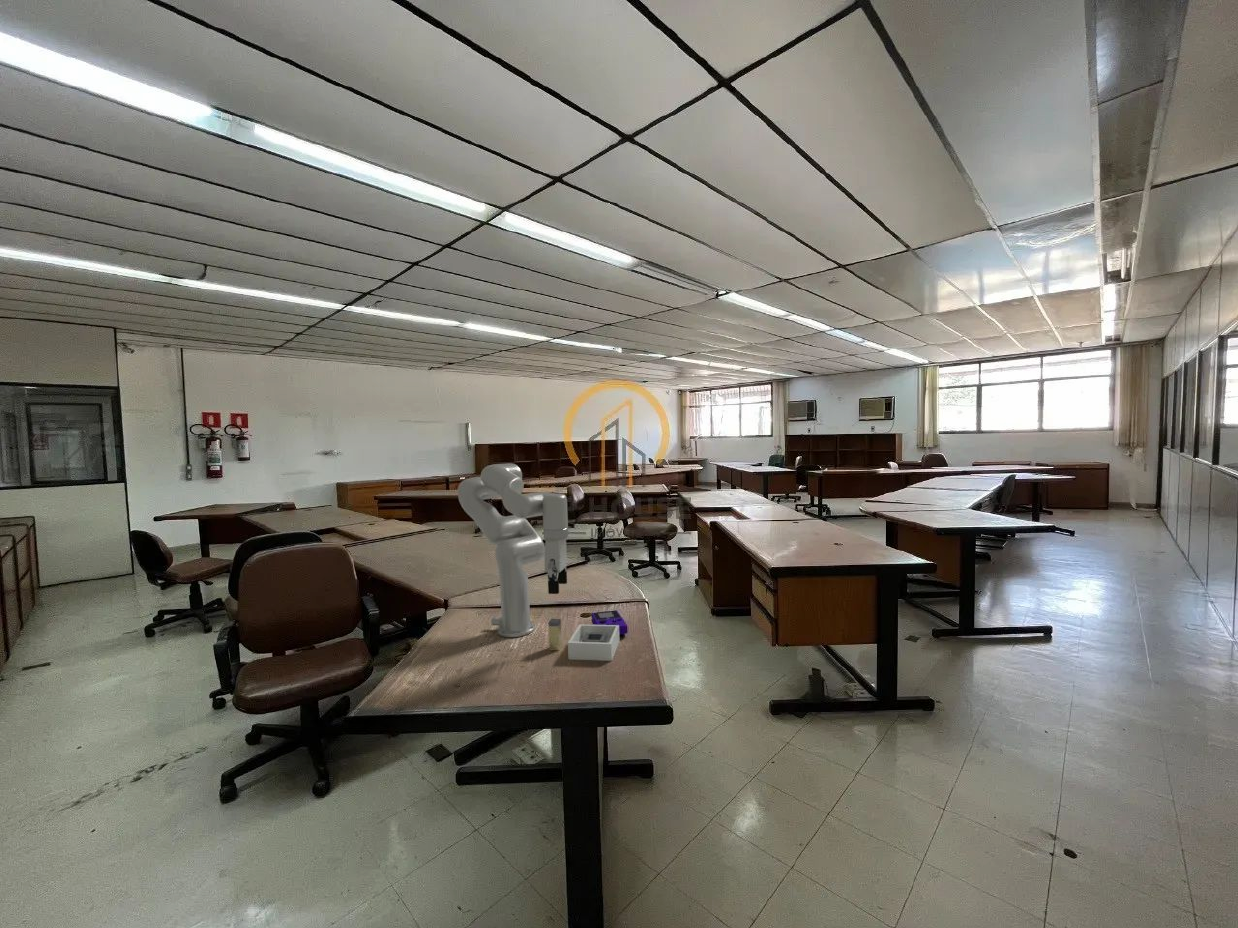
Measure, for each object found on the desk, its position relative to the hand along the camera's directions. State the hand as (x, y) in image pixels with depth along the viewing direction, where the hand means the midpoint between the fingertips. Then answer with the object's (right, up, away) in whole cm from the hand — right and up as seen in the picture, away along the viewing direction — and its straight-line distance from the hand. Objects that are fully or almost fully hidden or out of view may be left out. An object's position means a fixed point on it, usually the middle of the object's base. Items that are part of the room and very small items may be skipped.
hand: (558, 588), depth 147 cm
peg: (-1, -19, 0) cm, 19 cm away
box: (+12, -18, -2) cm, 22 cm away
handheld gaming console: (+16, -18, +12) cm, 27 cm away
